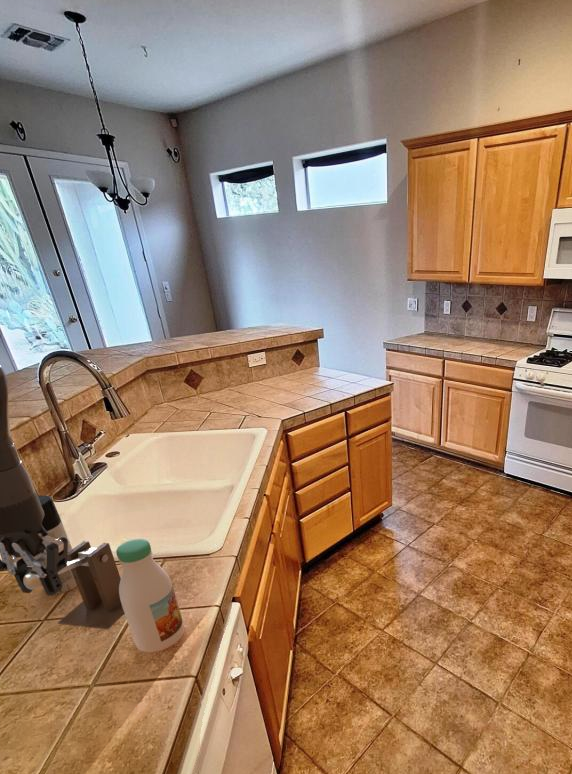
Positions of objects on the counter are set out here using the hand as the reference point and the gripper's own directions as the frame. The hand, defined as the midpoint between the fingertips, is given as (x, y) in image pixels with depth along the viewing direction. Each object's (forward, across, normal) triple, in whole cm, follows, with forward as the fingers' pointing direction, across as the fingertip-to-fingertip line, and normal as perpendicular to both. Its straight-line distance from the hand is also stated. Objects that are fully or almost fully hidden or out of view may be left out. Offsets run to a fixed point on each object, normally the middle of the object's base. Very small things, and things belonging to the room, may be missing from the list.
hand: (42, 590), depth 69 cm
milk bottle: (+13, -15, -4) cm, 20 cm away
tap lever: (+1, 0, -4) cm, 4 cm away
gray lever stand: (+12, 0, -10) cm, 16 cm away
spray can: (+12, +13, -14) cm, 23 cm away
